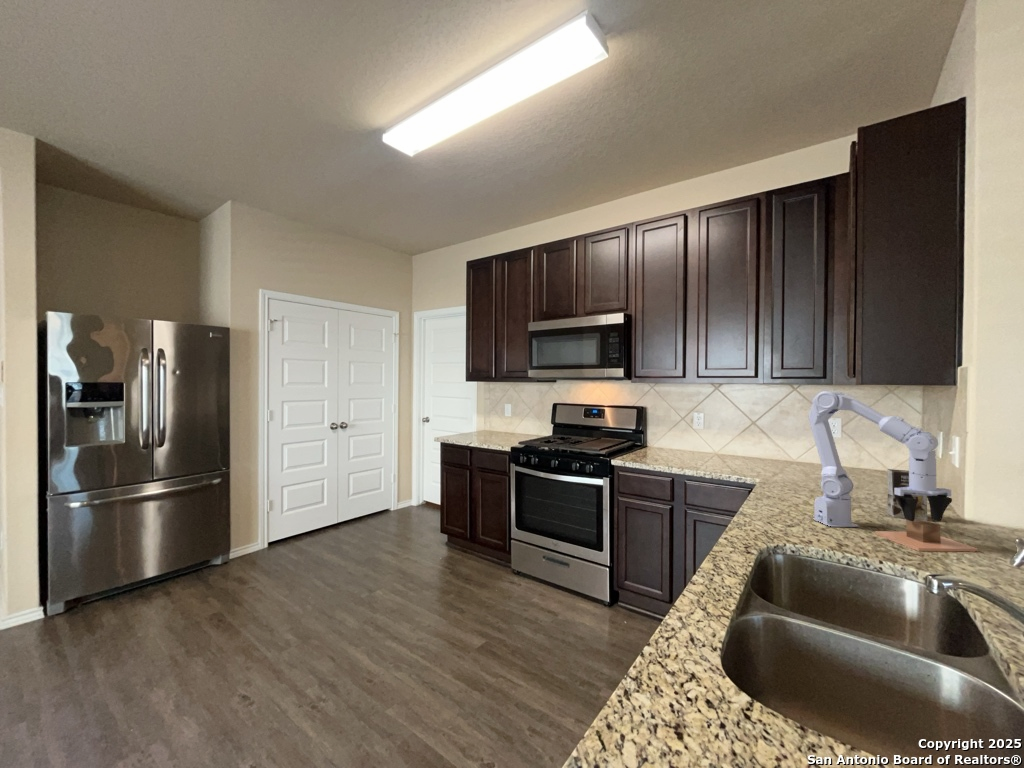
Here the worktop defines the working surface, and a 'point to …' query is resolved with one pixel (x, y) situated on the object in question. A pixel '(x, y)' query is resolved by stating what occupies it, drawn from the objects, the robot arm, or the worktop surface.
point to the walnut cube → (923, 531)
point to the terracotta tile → (925, 546)
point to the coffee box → (893, 508)
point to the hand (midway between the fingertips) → (922, 520)
